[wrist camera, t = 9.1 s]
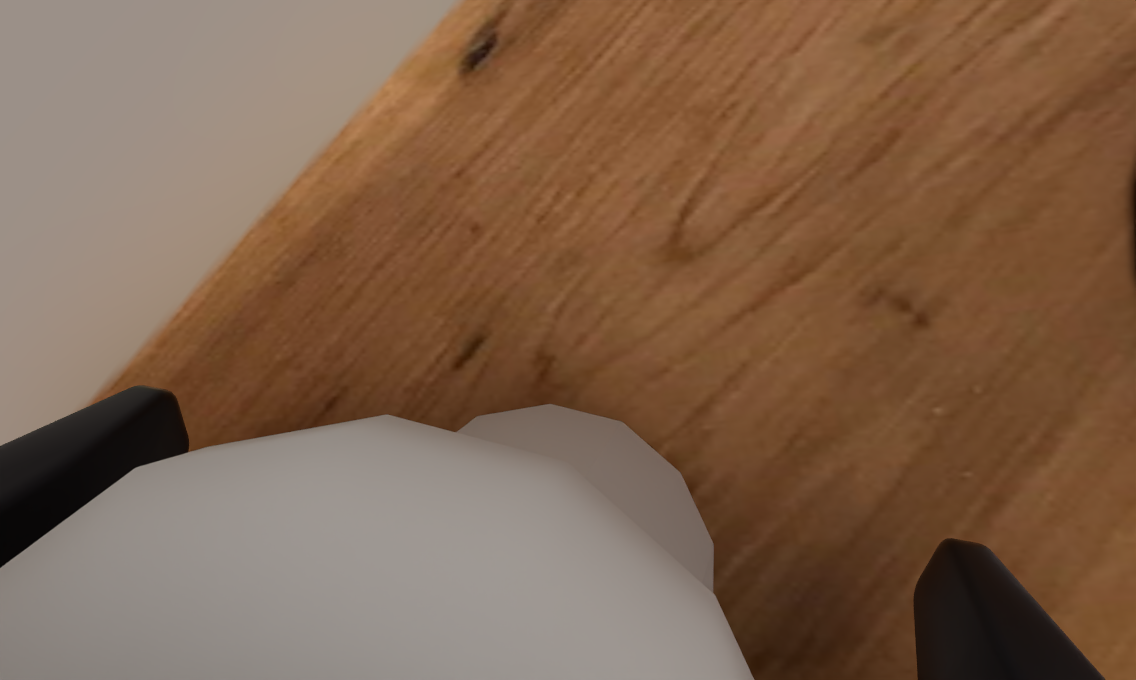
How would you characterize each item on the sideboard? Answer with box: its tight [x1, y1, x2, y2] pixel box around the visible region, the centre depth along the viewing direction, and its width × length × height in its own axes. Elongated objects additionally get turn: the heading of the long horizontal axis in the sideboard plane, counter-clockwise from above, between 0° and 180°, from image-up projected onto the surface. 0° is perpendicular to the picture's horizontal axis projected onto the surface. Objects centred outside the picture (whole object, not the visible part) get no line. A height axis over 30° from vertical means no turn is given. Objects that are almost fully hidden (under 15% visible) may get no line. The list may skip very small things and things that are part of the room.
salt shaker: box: [0, 404, 754, 680], centre depth 9 cm, size 6×6×13 cm
